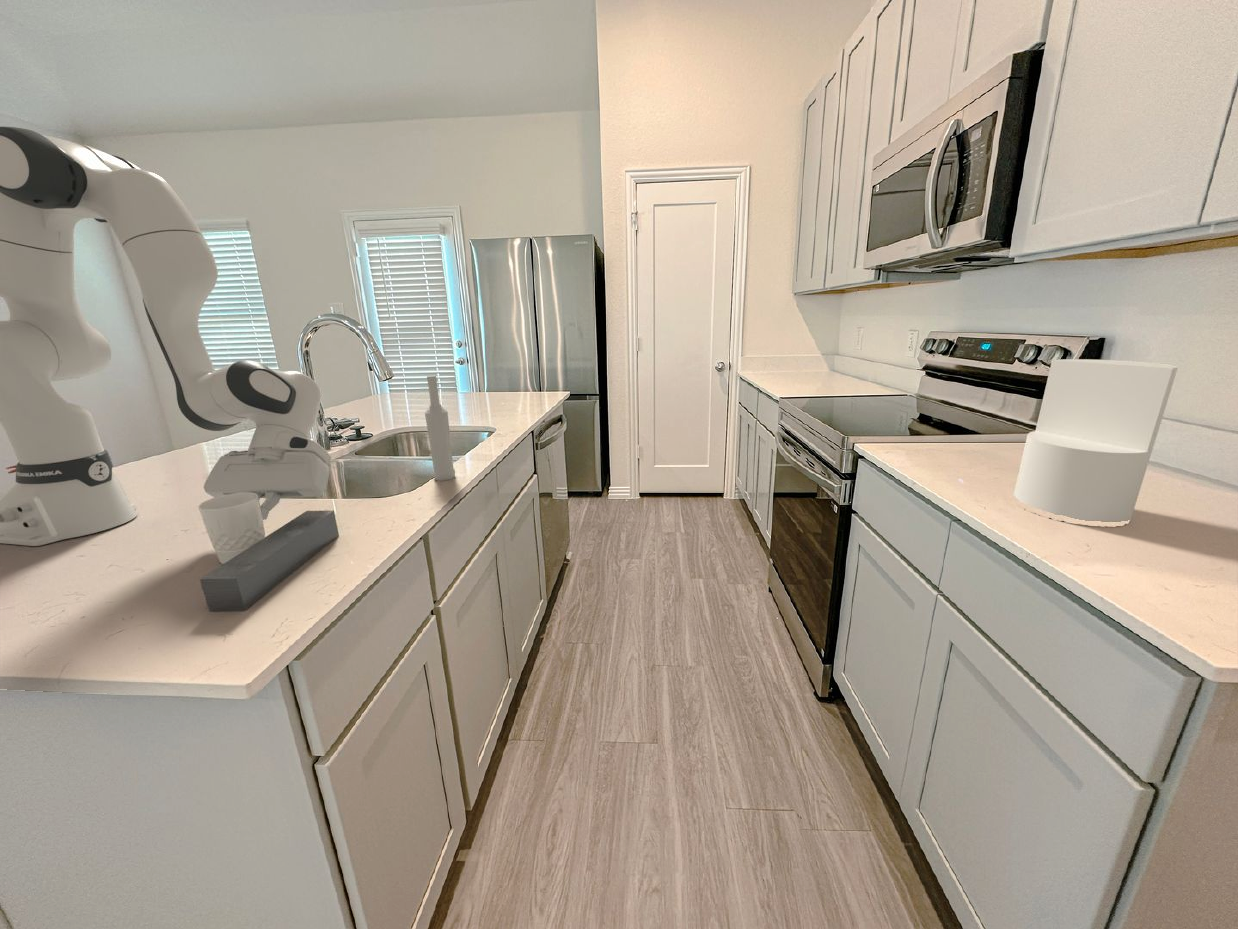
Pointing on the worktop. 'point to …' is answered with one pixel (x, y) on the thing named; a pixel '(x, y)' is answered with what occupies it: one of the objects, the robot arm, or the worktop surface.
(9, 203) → the robot arm
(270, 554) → the long dark grey beam
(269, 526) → the worktop surface
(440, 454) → the bottle
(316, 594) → the worktop surface
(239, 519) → the white cup
